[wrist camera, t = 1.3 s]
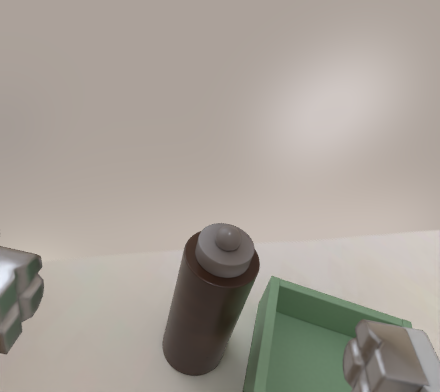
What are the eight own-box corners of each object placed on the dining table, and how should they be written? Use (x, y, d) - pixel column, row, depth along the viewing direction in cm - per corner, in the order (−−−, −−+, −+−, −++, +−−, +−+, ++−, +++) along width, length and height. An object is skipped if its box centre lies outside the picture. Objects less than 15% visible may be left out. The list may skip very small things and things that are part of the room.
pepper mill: (153, 363, 29) (179, 243, 21) (174, 311, 33) (202, 193, 25) (214, 384, 29) (265, 272, 21) (228, 329, 33) (275, 216, 25)
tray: (232, 449, 26) (248, 425, 23) (258, 303, 36) (271, 275, 33) (412, 513, 25) (447, 495, 23) (388, 346, 35) (411, 322, 33)
